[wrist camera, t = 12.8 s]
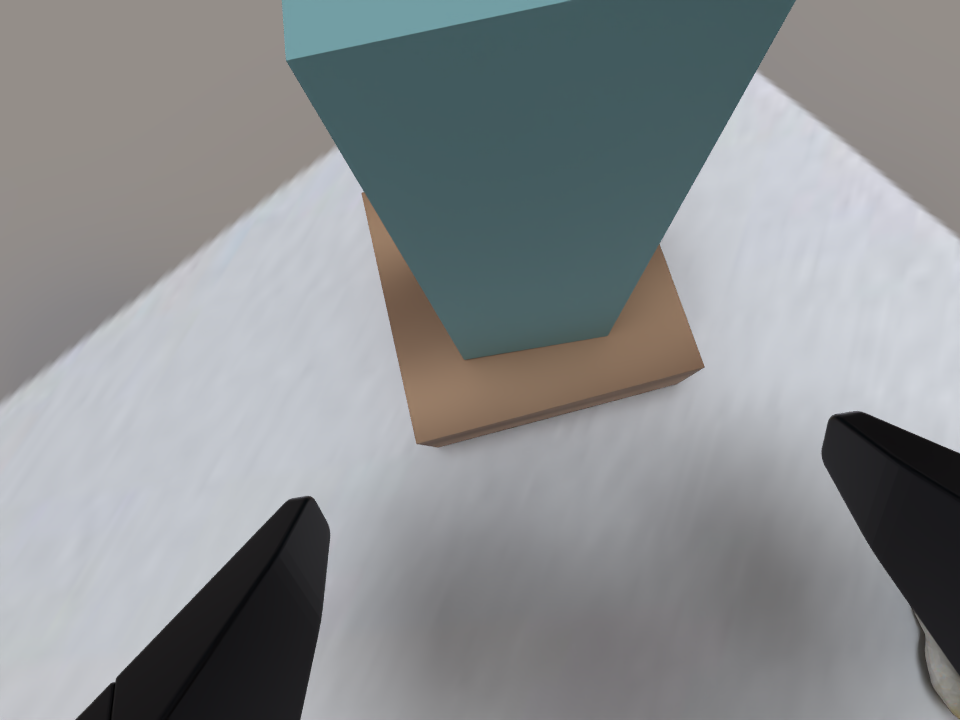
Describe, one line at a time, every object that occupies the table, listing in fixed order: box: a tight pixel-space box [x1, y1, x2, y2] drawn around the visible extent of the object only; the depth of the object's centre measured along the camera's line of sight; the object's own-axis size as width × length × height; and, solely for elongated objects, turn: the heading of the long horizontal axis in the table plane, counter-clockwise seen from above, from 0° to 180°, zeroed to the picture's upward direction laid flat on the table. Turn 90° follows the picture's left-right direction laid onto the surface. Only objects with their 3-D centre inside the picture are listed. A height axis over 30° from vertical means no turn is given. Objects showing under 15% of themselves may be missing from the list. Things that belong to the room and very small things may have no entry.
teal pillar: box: [282, 0, 796, 360], centre depth 11 cm, size 5×5×13 cm
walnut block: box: [362, 192, 704, 447], centre depth 20 cm, size 10×10×4 cm
